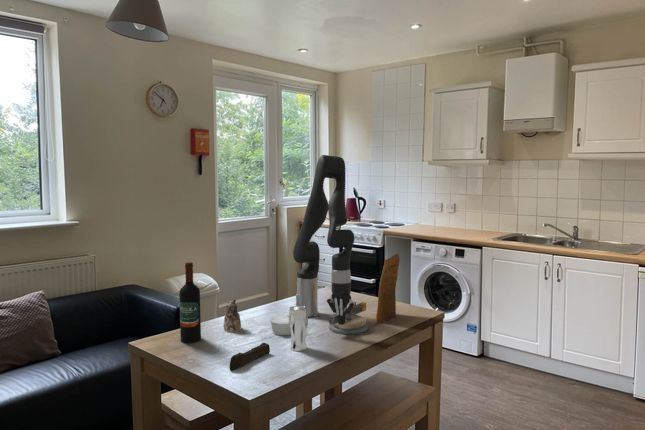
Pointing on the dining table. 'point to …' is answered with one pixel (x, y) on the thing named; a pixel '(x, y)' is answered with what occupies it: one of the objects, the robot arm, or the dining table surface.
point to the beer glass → (298, 327)
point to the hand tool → (248, 356)
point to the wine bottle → (190, 309)
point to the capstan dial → (351, 318)
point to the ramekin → (280, 325)
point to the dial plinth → (348, 332)
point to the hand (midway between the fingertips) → (341, 324)
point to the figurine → (232, 318)
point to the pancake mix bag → (388, 290)
